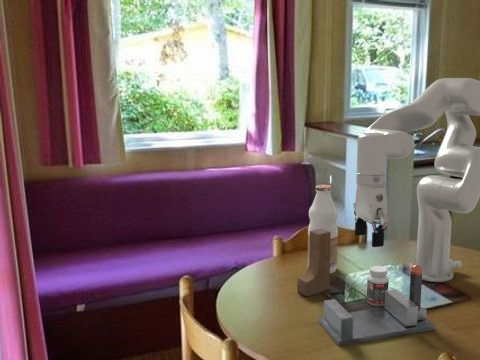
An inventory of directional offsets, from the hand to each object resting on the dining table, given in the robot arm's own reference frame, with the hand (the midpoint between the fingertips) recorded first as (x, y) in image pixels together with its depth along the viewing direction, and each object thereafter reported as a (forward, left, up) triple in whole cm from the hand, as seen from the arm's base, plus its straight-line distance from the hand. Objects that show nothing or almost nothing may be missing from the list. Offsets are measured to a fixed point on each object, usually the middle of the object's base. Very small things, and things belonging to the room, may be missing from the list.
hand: (368, 240), depth 133 cm
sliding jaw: (-4, +13, -16) cm, 21 cm away
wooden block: (+12, -10, -18) cm, 24 cm away
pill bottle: (-2, +2, -18) cm, 18 cm away
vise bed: (+5, +13, -18) cm, 23 cm away
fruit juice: (+3, -24, -18) cm, 31 cm away
